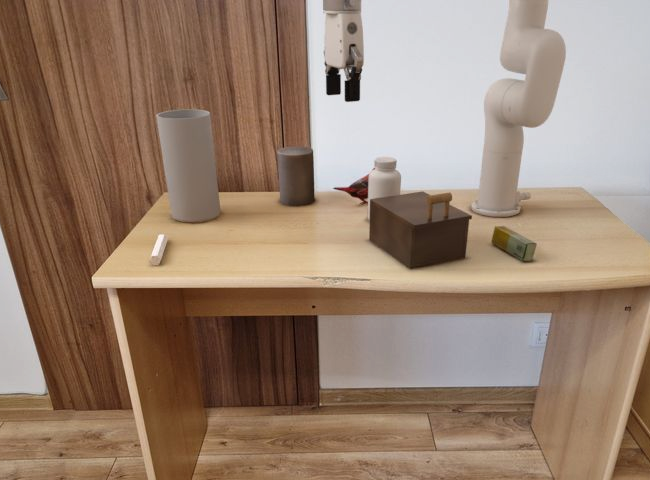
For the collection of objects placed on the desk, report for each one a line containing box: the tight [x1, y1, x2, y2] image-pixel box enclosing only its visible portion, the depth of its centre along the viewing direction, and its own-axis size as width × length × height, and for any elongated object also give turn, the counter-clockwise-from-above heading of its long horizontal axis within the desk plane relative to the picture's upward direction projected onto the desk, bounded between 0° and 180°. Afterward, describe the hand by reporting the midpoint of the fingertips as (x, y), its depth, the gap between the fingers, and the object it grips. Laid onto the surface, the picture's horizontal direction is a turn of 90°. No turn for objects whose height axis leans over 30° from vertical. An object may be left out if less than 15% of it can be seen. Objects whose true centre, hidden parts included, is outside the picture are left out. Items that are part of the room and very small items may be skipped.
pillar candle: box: [276, 145, 316, 207], centre depth 167 cm, size 10×10×15 cm
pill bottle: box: [367, 156, 402, 222], centre depth 153 cm, size 8×8×15 cm
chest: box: [368, 203, 470, 270], centre depth 137 cm, size 19×14×9 cm
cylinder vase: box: [155, 109, 222, 224], centre depth 154 cm, size 12×12×25 cm
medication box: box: [490, 225, 538, 263], centre depth 135 cm, size 12×3×4 cm, turn 23°
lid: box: [370, 190, 473, 229], centre depth 133 cm, size 20×14×6 cm
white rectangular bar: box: [148, 233, 169, 266], centre depth 139 cm, size 3×2×16 cm
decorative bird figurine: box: [332, 167, 375, 206], centre depth 164 cm, size 3×18×10 cm, turn 124°
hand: (342, 97), depth 130 cm, fingers open, 9 cm apart
